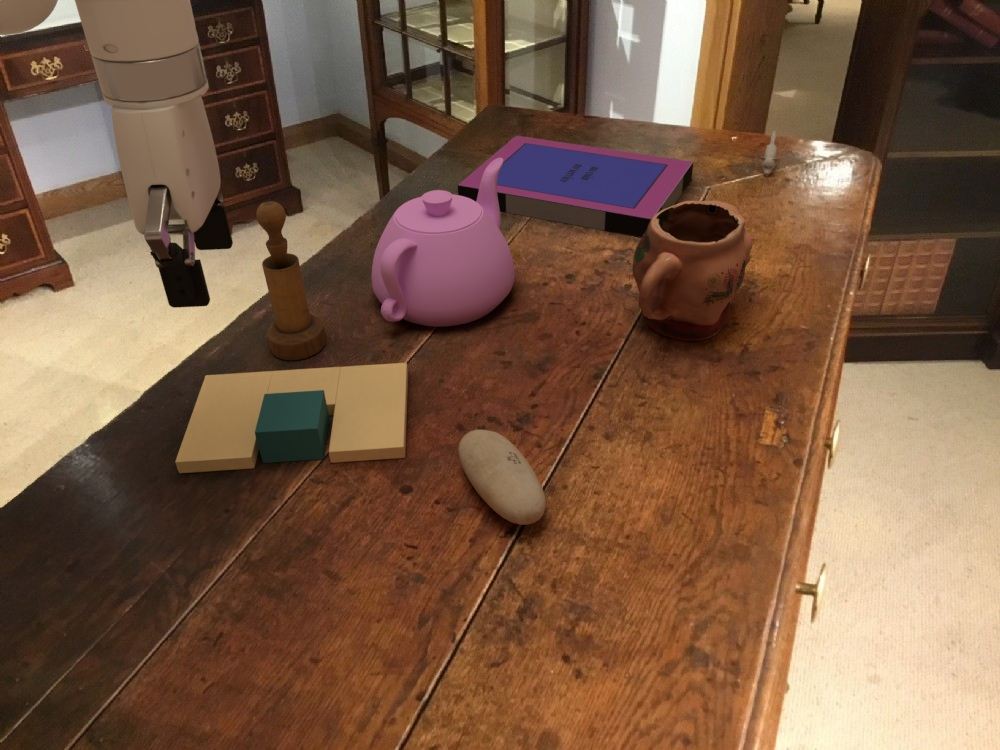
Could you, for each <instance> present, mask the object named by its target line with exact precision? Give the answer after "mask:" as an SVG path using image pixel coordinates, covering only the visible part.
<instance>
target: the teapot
mask: <svg viewBox="0 0 1000 750" xmlns="http://www.w3.org/2000/svg"><path fill="white" fill-rule="evenodd" d="M502 164H503V158H497V159H495V160H493V161H492V162H491V163H490V164H489V165H488V166H487V167H486V169H485V171H484V173H483V176H482V179H481V183H480V187H479V192H478V196H477V201H476V202H475V201H474V200H472V199H470V198H467V197H464V196H459V195H458V194H452V193H451V192H450V191H448V190H443V189H433V190H430V191H427V192H425V193H423V194H422V195H421V196H418V197H415V198H412V199H409V200H407V201H406V202H404V203H403V204H401V205H400V206H399V207H398V208H396V210H395V212H394V213H393V214H392V216H391V218H390V219H389V221H387V224H386V226H385V228H384V230H383V232H382V233H381V236H380V237H379V240H378V243H377V245H376V247H375V251H374V253H373V259H372V267H371V287H372V291H373V293H374V295H375V297H376V299H377V300H378V301H379V303H381V307H380V315H381V316H382V318H383V319H384V320H385V321H386V322H390V323H391V322H392V323H395V322H400V321H402V320H404V321H406V322H410V323H412V324H415V325H420V326H425V327H437V328H438V327H440V328H442V327H454V326H460V325H464V324H468V323H471V322H474V321H478V320H479V319H482V318H483V317H485V316H487V315H488V314H490V313H491V312H492V311H494V310H495V308H496V309H497V307H498V306H499V305H500V304H501V303H502V302H503V301H504V300H505V299H506V298H507V296H509V293H510V292H511V291H512V288H513V286H514V284H515V279H516V275H515V274H516V273H515V264H514V259H513V256H512V253H511V249H510V246H509V244H508V242H507V240H506V237H505V236H504V234H503V233H502V231H501V223H502V222H501V211H500V208H499V202H498V196H497V179H498V174H499V171H500V169H501V167H502Z"/></svg>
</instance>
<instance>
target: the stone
mask: <svg viewBox="0 0 1000 750" xmlns="http://www.w3.org/2000/svg"><path fill="white" fill-rule="evenodd" d="M458 457H459V460H460V464H461V466H462V469H463V471H464V473H465V475H466V477H467V479H468V481H469V482H470V484H471V485H472V487H473V488H474V490H475V491H476V493H477V494H478V495H479V497H481V498H482V500H483V501H484V502H485V503H486V504H487V505H488V506H489V507H490V509H492V510H493V511H494V512H495V513H496V514H497V515H498V516H499V517H501V518H503V519H504V520H507V521H508V522H510V523H513V524H515V525H516V524H517V525H520V526H521V525H523V526H526V525H531V524H532V525H533V524H535V523H536V522H538V521H539V520H540V519H541V518H542V517H543V515H544V513H545V510H546V505H547V504H546V496H545V491H544V489H543V486H542V483H541V482H540V479H539V478H538V476H537V474H536V472H535V471H534V469H533V468H532V466H531V464H530V463H529V462H528V460H527V458H526V457H525V456H524V455H523V454H522V452H521V451H520V450H519V449H518V448H517V447H516V446H515V445H514V444H513V443H512V442H511V441H510V440H509V439H508V438H507V437H505V436H504V435H502V434H501V433H498V431H492V430H487V429H474V430H471V431H468V432H467V433H465V435H463V437H462V438H461V440H460V442H459V444H458Z"/></svg>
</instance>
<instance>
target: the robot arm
mask: <svg viewBox="0 0 1000 750" xmlns="http://www.w3.org/2000/svg"><path fill="white" fill-rule="evenodd" d="M58 1H59V0H0V36H9V35H10V36H11V35H16V34H18V35H19V34H22V33H25V32H28V31H31V30H33V29H35V28H36V27H38V26H39V25H41V24H42V23H44V22H45V21H46V20H47V19H48V18H49V17H50V16H51V14H52V13H53V11H54V10H55V8H56V6H57V4H58ZM74 2H75V6H76V9H77V12H78V16H79V20H80V23H81V27H82V29H83V33H84V36H85V40H86V44H87V46H88V50H89V54H90V57H91V60H92V64H93V67H94V71H95V74H96V77H97V81H98V84H99V87H100V90H101V94H102V98H103V102H105V104H107V105H108V106H111V120H112V128H113V135H114V141H115V147H116V152H117V157H118V162H119V166H120V171H121V176H122V180H123V183H124V188H125V191H126V195H127V201H128V204H129V208H130V213H131V216H132V220H133V223H134V226H135V229H136V231H137V232H138V233H139V234H140V235H143V236H144V240H145V242H146V244H147V246H148V247H149V250H151V251H150V252H149V253H150V255H151V256H152V258H153V260H154V264H155V266H156V268H158V272H159V275H160V278H161V283H162V286H163V289H164V292H165V296H166V299H167V302H168V305H169V306H170V307H171V308H194V307H195V308H196V307H207V306H209V304H210V302H211V297H210V292H209V289H208V285H207V281H206V277H205V274H204V269H203V265H202V261H201V259H196V249H197V250H198V251H211V250H212V251H214V250H215V251H216V250H230V249H231V248H232V247H233V243H234V241H233V237H232V232H231V228H230V224H229V219H228V215H227V211H226V206H225V205H223V204H224V195H223V192H222V190H221V184H222V183H221V182H222V181H221V171H220V164H219V161H218V155H217V151H216V146H215V142H214V138H213V133H212V130H211V126H210V123H209V119H208V116H207V115H208V114H207V111H206V108H205V104H204V100H203V98H202V96H203V95H205V94H206V93H207V92H208V90H209V89H210V85H209V81H208V77H207V72H206V68H205V64H204V58H203V54H202V48H201V44H200V42H199V40H200V39H199V36H198V30H197V28H196V22H195V17H194V13H193V8H192V3H191V0H74ZM177 220H179V221H181V220H182V221H183V222H184V223H175V224H174V223H173V224H169V223H170V221H177ZM171 236H182V246H180V245H179V244H178V243H177V242H172V241H171V240H172V237H171Z"/></svg>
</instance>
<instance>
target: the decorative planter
mask: <svg viewBox="0 0 1000 750" xmlns="http://www.w3.org/2000/svg"><path fill="white" fill-rule="evenodd" d="M745 226H746V220H745V217H744V216H742V215H741V212H740V211H739V208H737V207H736V206H734V205H732V204H730V203H727V202H725V201H720V200H685V201H682V202H679V203H675V204H674V205H673V206H671V207H668V208H666V209H663V210H661V211H660V212H658V213H657V214H656V215H655V216H654V217H653V218H652V219H651V221H650V222H649V224H648V227H647V230H646V231H645V233H644V235H643V236H642V237H640V240H639V241H638V243H637V245H636V247H635V249H634V250H635V251H634V255H633V259H632V275H633V278H634V281H635V284H636V286H637V290H638V292H639V293H638V308H639V309H640V313H641V316H642V318H643V321H644V322H645V324H646V325H647V326H648V327H649V328H650V329H652V330H653V331H655V332H656V333H658V334H661V335H662V336H665V337H668V338H671V339H675V340H678V341H686V342H687V341H689V342H692V341H693V342H694V341H696V342H697V341H702V340H703V341H704V340H706V339H709V338H712V337H713V336H715V335H716V334H718V333H719V332H720V331H721V330H722V329H723V328H724V327H725V325H726V324H727V323H728V322H729V321H730V317H731V300H733V298H734V296H735V295H736V294H737V293H738V291H739V290H740V288H741V287H742V284H743V282H744V278H745V274H746V273H745V272H746V267H747V266H748V264H749V262H750V261H751V256H750V255H751V251H752V249H753V240H752V238H751V236H750V234H749V232H748V231H747V230H746V227H745Z"/></svg>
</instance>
